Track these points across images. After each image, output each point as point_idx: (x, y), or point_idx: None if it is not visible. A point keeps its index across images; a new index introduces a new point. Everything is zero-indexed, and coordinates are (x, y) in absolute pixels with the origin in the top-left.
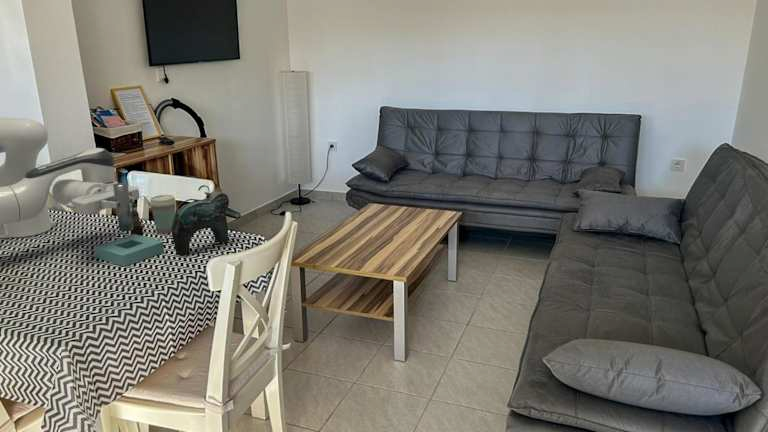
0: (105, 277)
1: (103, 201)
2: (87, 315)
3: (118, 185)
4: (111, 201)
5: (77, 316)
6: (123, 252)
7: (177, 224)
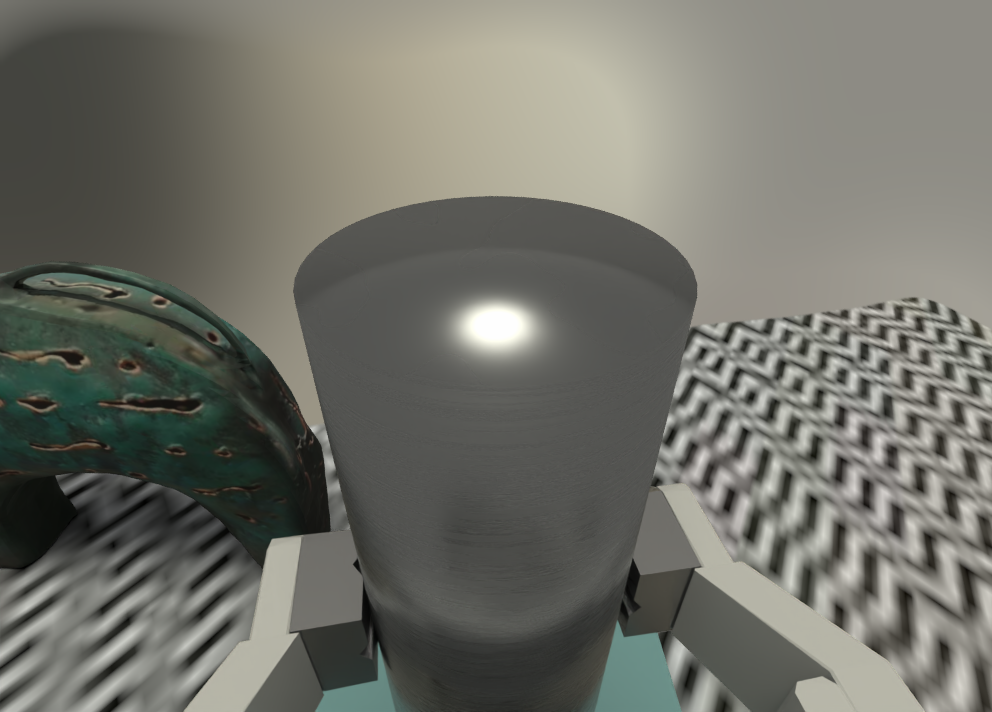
0: (770, 579)
1: (887, 675)
2: (866, 358)
3: (578, 243)
4: (711, 573)
5: (898, 370)
6: (618, 653)
7: (285, 386)
